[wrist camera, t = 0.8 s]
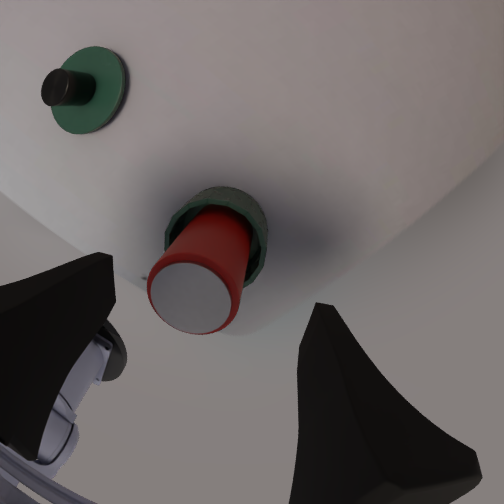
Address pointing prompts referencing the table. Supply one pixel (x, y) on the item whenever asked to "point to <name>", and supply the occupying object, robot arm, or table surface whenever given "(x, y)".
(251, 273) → the green pot
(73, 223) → the table surface
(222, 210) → the can
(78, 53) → the lid
